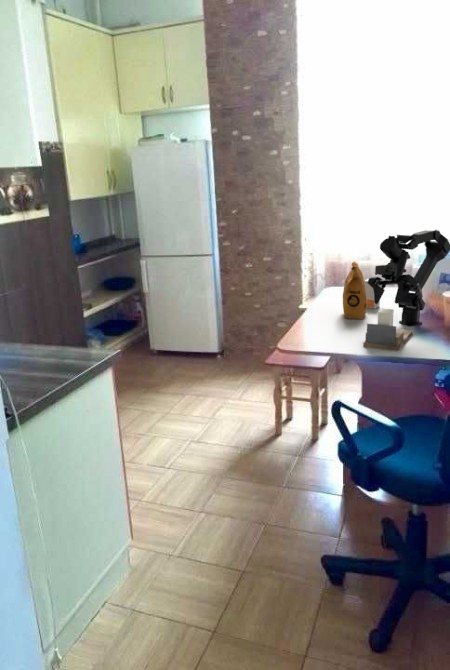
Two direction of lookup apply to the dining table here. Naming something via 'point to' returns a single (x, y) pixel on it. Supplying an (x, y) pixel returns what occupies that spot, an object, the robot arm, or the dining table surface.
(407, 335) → the shelf plank
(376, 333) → the bookend
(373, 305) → the skincare box
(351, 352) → the dining table surface
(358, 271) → the coffee package
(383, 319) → the white rectangular block
